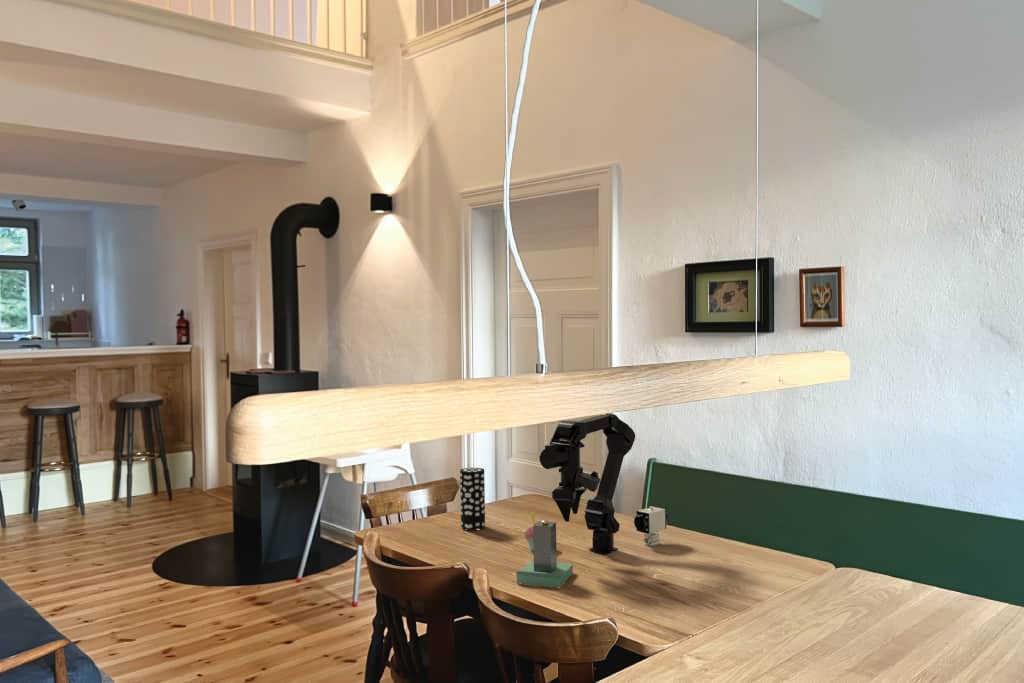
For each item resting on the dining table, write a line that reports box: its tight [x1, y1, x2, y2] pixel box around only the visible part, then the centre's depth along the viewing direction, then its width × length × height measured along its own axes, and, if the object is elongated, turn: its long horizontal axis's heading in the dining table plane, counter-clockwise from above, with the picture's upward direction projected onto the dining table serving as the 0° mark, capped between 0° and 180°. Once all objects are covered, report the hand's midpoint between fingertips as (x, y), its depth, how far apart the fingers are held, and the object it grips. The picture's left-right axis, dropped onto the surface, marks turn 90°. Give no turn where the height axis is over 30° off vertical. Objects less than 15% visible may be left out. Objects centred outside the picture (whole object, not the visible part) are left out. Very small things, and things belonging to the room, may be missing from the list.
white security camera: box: [633, 505, 670, 547], centre depth 241 cm, size 6×12×12 cm, turn 130°
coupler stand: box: [516, 560, 574, 589], centre depth 210 cm, size 13×12×4 cm
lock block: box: [532, 519, 558, 573], centre depth 210 cm, size 5×5×13 cm
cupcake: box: [523, 511, 536, 552], centre depth 238 cm, size 9×8×12 cm
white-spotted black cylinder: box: [459, 467, 486, 530], centre depth 264 cm, size 8×8×20 cm
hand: (571, 517), depth 224 cm, fingers open, 9 cm apart
